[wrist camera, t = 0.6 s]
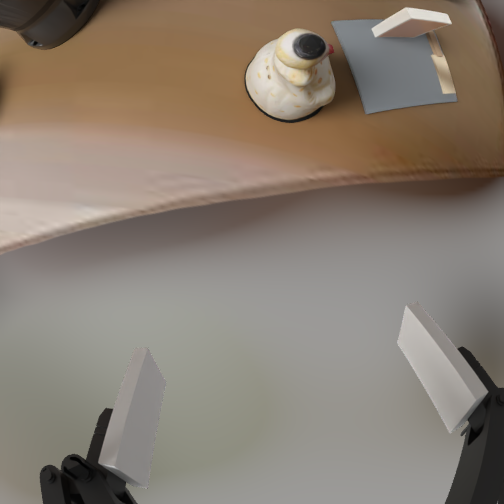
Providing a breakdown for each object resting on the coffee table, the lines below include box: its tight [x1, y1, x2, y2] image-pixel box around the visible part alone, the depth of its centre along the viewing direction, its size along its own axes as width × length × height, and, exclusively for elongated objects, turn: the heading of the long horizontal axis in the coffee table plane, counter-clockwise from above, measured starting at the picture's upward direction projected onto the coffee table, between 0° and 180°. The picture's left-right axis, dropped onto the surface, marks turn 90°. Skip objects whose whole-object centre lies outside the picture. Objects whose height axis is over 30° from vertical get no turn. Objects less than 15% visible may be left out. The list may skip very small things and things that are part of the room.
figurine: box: [245, 29, 335, 123], centre depth 21 cm, size 12×10×20 cm
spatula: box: [425, 31, 456, 94], centre depth 26 cm, size 15×3×1 cm, turn 19°
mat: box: [331, 19, 457, 114], centre depth 28 cm, size 15×20×1 cm
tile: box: [372, 8, 452, 38], centre depth 21 cm, size 2×8×10 cm, turn 109°
